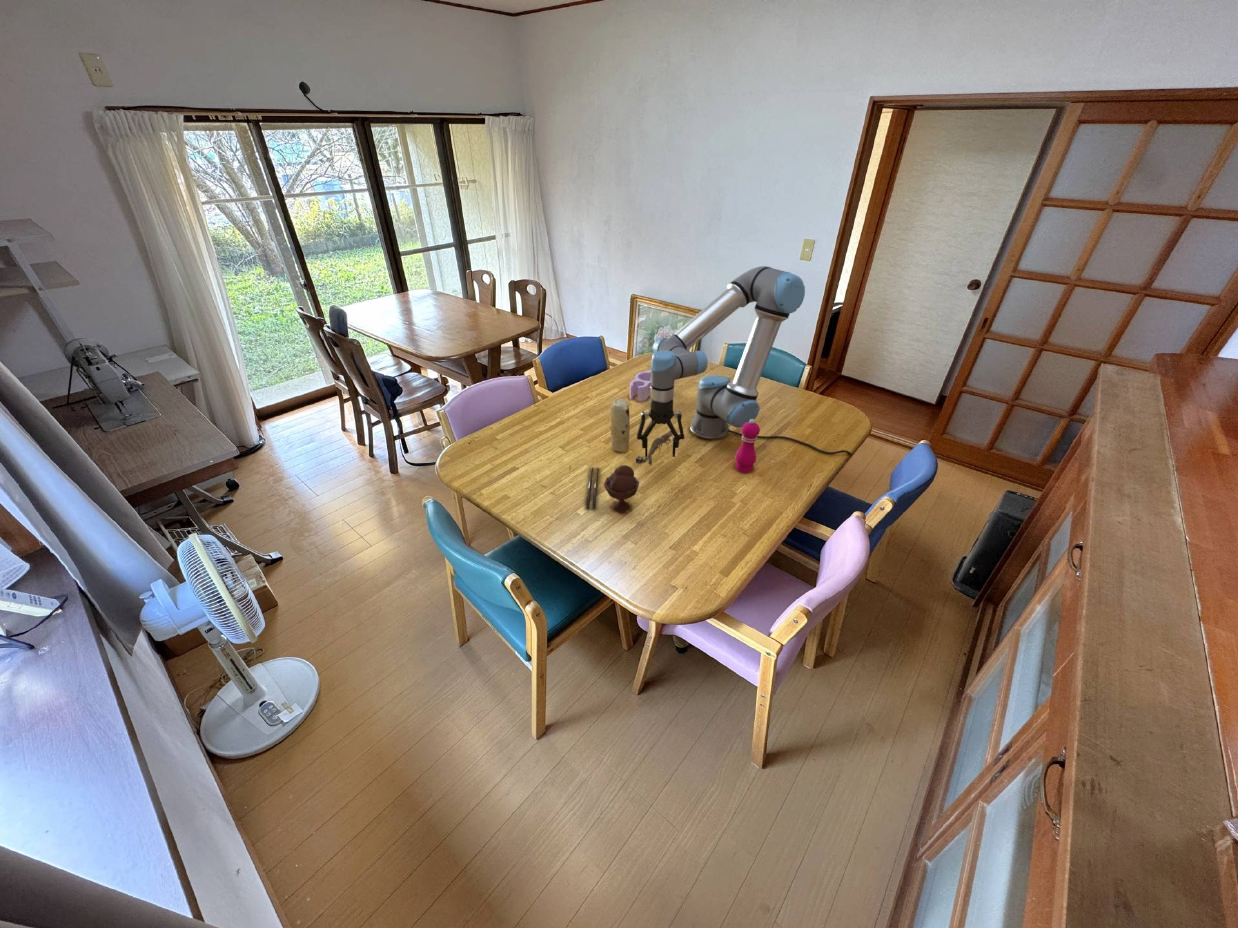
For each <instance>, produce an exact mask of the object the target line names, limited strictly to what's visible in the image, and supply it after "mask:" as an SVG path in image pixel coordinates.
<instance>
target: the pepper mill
mask: <svg viewBox="0 0 1238 928" xmlns="http://www.w3.org/2000/svg"><path fill="white" fill-rule="evenodd" d="M760 432H761V429H760V426H759V424H758V423H756V419H755V420H754V419H751V420H750V421H749V422H747V423H745V424H744V425H743V427H742V428H741V434H743V435H742V436H741V440H742V442H741V445H740V447H739V448H738V450H737V451H736V454H735V466H734V467H735V469H736V470H737V471H738V472H739V473H742V474H743V473H746V474H748V473H751V472H753V470H754V464H755V463H756V462H757V453H756V450H755V449H756V448H755V444H756V443H755V442H757V439H758V438H757V436H759V434H760Z"/></svg>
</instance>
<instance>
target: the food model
mask: <svg viewBox="0 0 1238 928" xmlns="http://www.w3.org/2000/svg"><path fill="white" fill-rule="evenodd" d="M612 403H613V404H611V406H610V441H611V442H610V443H611V446H612V449H613V450H614V451H615V452H618V453H626V452H628V450H629V444H630V433H631V431H630V429H631V428H630V423H631V422H630V405H629V404H628V402H627V401H626V400H625V399H623V398H617V397H616V398H615V399H613V402H612Z"/></svg>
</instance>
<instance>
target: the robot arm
mask: <svg viewBox="0 0 1238 928" xmlns="http://www.w3.org/2000/svg"><path fill="white" fill-rule="evenodd" d="M805 294H806V286H805V285H804V280H803V278H801V277H800V276H798V275H797V274H794V273H792V272H790V271H785V270H781V269H777V268H773V267H771V266H766V265H762V266H757V267H754V268H751V269H749V270H747V271H745V272H743V273H742V274H740V275H739V276H737V277H736V278H734V279H733V280H732V281H731V282H729V283H728V284H727V285H726V290H724V291H723V292H722V293H721V294H719V295H718V296H717V297H716V298H715V299H713V300H712V301H711V302H710V303H709V304H708V305H706V306H705V307H704V308H703V309H702V310H700V311H699V312H698V313H697V314H695V316H693V317H692V318H691V319H690V320H688V321H686V323H685V324H684V325H682V326H681V327H679V329H678V330H676V331H675V332H674V333H672V334H671V335H670V336H669V337H660V338H658V339H656V340H655V341H654V343H653V345H652V353H653V354H652V355H651V362H650V363H651V364H650V370H651V396H650V403H649V405H650V409H649V411H648V412H645V411H641V412H640V417H641V419H640V422H639V426H638V429H637V433H636V439H637V440H639V441H641V448H642V449H644V458H645V457H646V456H647V455H648V448H649V446H648V445H649V444H648V443H649V438H648V437H649V435H650V434H651V432H652V431H653V429H654V427H655V426H656V425H666V426H667V427H668V428H669V431H671V432H672V437H673V438H672V450H671V451H672V452H671V454H672V458H676V449H678V448H680V447H679V446H680V440H685V433H684V428H683V427H684V426H683V423H682V418H683V414H682V411H680V410H679V411H678V412H677V411H674V397H675V395H674V394H675V393H674V392H675V381H677V380H680V379H685V378H690V377H694V376H698V375H700V374H703V373H705V372H706V371H707V369H708V364H709V360H708V357H707V355H706V353H705V352H704V351H702V350H693V351H689V350H690V349H691V348H692V347H694V346H695V345H696V344H697V343H699V341H700V340H702V339H704V337H706V336H707V335H708V334H709V333H710V332H711V331H713V330H715V328H716V327H718V326H719V325H720V324H721V323H723V322H724V321H725V320H726V319H727V318H729V317H730V316H731V315H732V314H734V312H736V311H737V310H738V309H739V308H745V307H746V306H748V305H749V304H750V303H755V302H756V303H755V305H754V312H755V314H756V315H755V319H754V322H753V325H752V327H751V329H750V333H749V335H748V338H747V341H746V343H745V347H744V349H743V352H742V355H741V358H740V361H739V363H738V366H737V368H736V372H735V374H734V377H733V380H732V381H731V379H730V378H729V377H728V376H725V375H719V374H713V375H711V374H710V375H706V376H704V377H702V378H701V379H700V380H699V383H698V387H697V401H696V412H695V414H694V417H693V418H692V420H691V422H690V426H689V431H690V433H691V434H692V435H693V436H695V437H697V438H698V439H702V440H707V441H709V440H710V441H716V440H721V439H723V438H725V437H726V436H727V435H728V434H729V433H731V434H735V435H736V436H740V437H742V435H743V433H739V432H737V431H734V430H730V429H729V425H730V426H733V427H734V428H737V429H742V427H743V425H744V424H745V423H747V422H749V421H750V420H751V419H754V420H755V421H756V419H757V417H758V415H759V413H760V410H761V409H760V404H759V403H758V401H757V400H758V396H759V392H758V390H757V387H758V384H759V382H760V380H761V377H762V374H763V371H764V369H765V366H766V364H767V361H768V358H769V356H770V353H771V351H772V348H773V346H774V343H775V340H776V338H777V336H778V332H779V330H780V327H781V325H782V323H783V322H784V321H786V320H788V319H789V318H790V314H793V313H795V312H796V311H797V310H798V309H800V308H801V306H802V304H803V302H804V299H805ZM673 417H674V419H676V421H677V426H678V431H679V433H678V431H677V430H676V428H675V426H674V424H673V423H672V419H673ZM649 418H650V419H651V420H650V422H649V424H648V425H647V427H646V428H645V430H644V427H645V424H646V420H648V419H649ZM643 431H644V432H643ZM676 431H677V432H676ZM757 439H784V440H789V441H793V442H795V443H798V444H800V445H804V446H806V447H808V448H811V449H813V450H815V451H818V452H819V453H823V454H827V455H836V454H841V453H846V454H848V456H852V453H851V452H850V451H848V450H846V449H843V450H837V451H826V450H822V449H820V448H817V447H816V446H814V445H813V444H812V445H811V444H809V443H807V442H804V441H801V440H799V439H796V438H792V437H789V436H782V435H770V436H769V435H767V436H766V435H764V436H763V435H757Z"/></svg>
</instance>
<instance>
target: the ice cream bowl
mask: <svg viewBox="0 0 1238 928" xmlns="http://www.w3.org/2000/svg"><path fill="white" fill-rule="evenodd" d="M603 486H604V489H605V491H606V492H607V495H609V497H611V498H612V499H615V500H618V501H616V502H614V503H613V505H612V507H613V510H614V511H615V512H617V513H626V512H628V511H630V508H631V504H630V503H629V502H628V501H626V500H628V499H630V498H632V497H635V495H636V493H637V492H638V489H639V486H640V481H639V480H638V479H637V478H636V476H635V471H634V469H633V468H632V467H631V466H629V465H627V464H622V465H619V466H618V467H616V468H615V469H614V471H613V472H612V473H610V476H608V477H606V478H605V481H604V483H603Z"/></svg>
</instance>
